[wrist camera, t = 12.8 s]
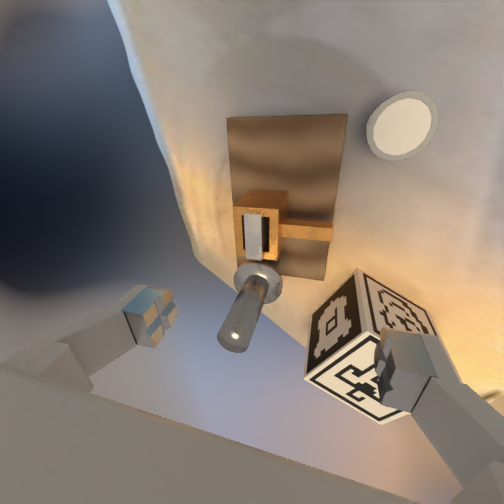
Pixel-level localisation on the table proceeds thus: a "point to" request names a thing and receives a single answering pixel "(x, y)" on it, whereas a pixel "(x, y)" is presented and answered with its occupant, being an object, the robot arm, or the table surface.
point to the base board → (291, 176)
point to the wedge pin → (255, 234)
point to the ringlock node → (262, 263)
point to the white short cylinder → (402, 125)
